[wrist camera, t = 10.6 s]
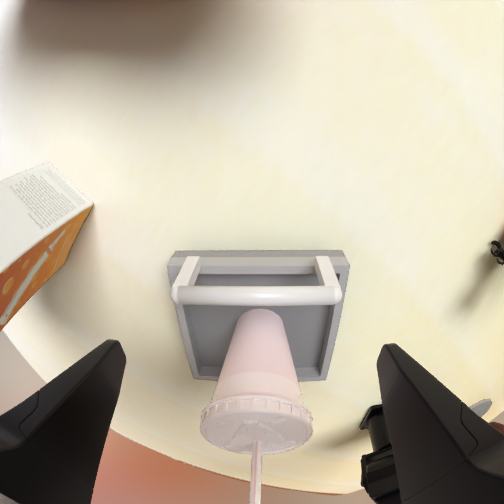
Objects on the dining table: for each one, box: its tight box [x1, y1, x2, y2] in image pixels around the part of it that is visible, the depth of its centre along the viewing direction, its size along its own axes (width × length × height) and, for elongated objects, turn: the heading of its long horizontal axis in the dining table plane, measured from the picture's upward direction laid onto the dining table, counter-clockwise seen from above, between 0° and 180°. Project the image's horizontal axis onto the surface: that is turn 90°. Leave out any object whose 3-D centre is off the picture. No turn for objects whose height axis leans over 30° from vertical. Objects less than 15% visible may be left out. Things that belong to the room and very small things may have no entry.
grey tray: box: [167, 250, 350, 382], centre depth 20 cm, size 13×12×8 cm
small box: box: [0, 162, 94, 331], centre depth 15 cm, size 8×6×13 cm
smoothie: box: [200, 309, 313, 504], centre depth 16 cm, size 6×6×14 cm
